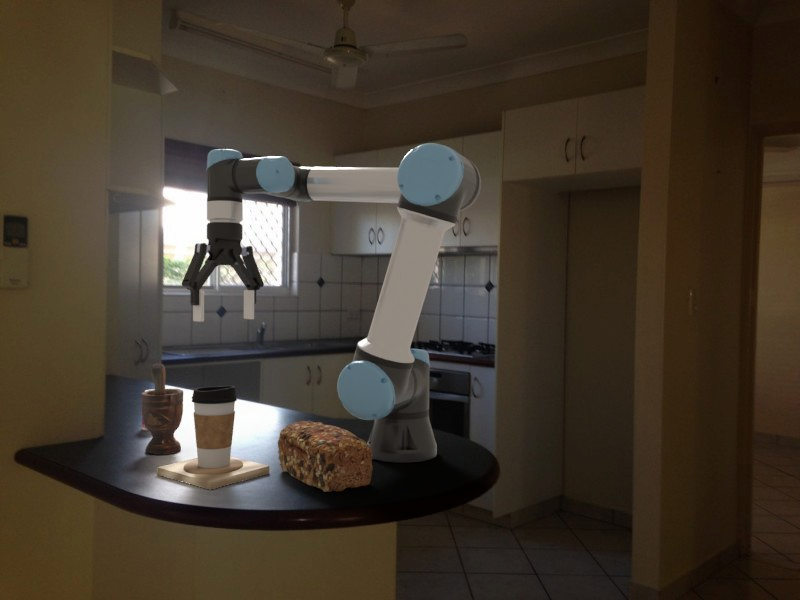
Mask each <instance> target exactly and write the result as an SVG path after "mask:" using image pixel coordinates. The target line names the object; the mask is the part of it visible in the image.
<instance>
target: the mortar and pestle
mask: <svg viewBox="0 0 800 600" xmlns="http://www.w3.org/2000/svg"><path fill="white" fill-rule="evenodd" d="M166 374H167V373H166V367H165V366H164V364H162V363H160V362H159V363H154V364H153V365H152V366H151V369H150V375H151V379H152V382H153V385H154V389H155V390H150V389H148V390H149V391H146V392H145V391H144V392H141V395H140V397H141V417H142V416H143V421H144V424H145V427H146V429H147V430H149V432H150V434H151V436H152V437H151V439H150V440H149V442H147V443H148V444H147V445H146V447H145V449H144V452H145V453H147V454H152V455H158V456H159V455H171V454H175V453H177V452H180V451H181V450H182V446H181V443H180V442H179V441H178V440H177V439H176V438H175V436H174V435H175V432H176V431H177V429H179V427H180V425H181V423H182V419H183V412H184V404H183V403H184V390H182V389H180V388H166Z"/></svg>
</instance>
